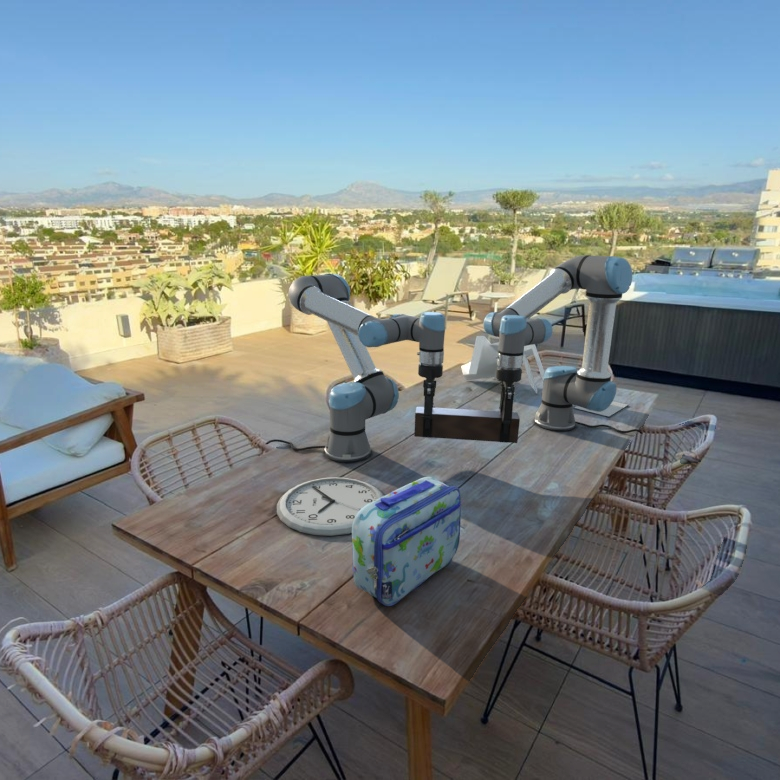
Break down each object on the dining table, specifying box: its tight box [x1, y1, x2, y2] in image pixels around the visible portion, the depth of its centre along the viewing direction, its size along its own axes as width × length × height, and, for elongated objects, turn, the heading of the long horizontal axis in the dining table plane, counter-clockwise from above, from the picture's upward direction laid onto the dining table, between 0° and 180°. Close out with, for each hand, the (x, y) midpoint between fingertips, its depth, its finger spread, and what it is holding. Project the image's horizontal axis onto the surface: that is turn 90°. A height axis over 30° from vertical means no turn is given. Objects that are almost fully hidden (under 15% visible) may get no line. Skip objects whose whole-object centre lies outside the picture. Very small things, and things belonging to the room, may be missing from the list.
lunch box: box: [351, 476, 462, 607], centre depth 111 cm, size 26×11×21 cm, turn 135°
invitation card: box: [573, 400, 629, 418], centre depth 226 cm, size 21×1×15 cm
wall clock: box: [276, 476, 385, 537], centre depth 142 cm, size 30×2×30 cm
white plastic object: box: [460, 335, 545, 394], centre depth 253 cm, size 37×45×31 cm
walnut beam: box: [413, 406, 521, 444], centre depth 165 cm, size 32×6×8 cm, turn 83°
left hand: (427, 432), depth 168 cm, fingers closed on walnut beam, 6 cm apart
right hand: (503, 437), depth 165 cm, fingers closed on walnut beam, 6 cm apart
